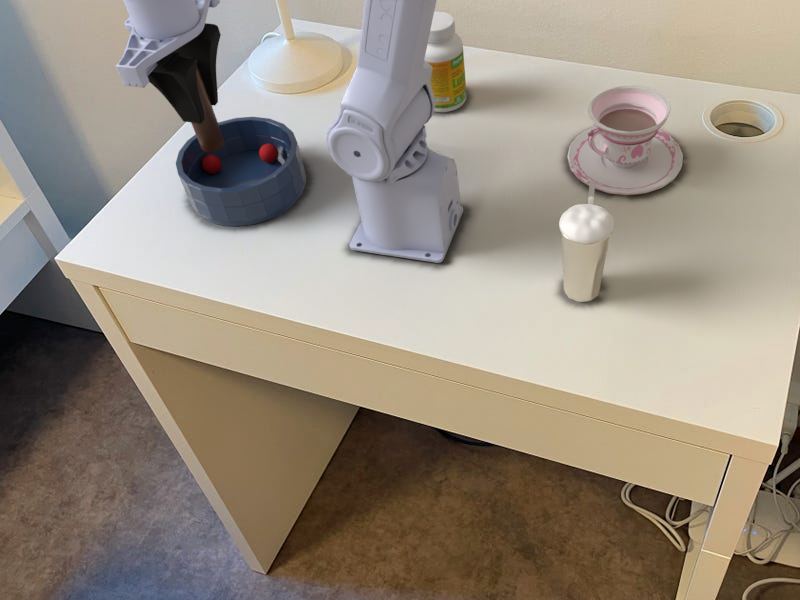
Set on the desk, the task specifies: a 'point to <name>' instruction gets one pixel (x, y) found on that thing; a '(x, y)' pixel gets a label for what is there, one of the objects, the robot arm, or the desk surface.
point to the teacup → (626, 143)
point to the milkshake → (584, 247)
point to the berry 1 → (211, 164)
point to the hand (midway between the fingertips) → (200, 111)
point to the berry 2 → (268, 153)
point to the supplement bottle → (446, 63)
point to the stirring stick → (207, 122)
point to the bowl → (244, 173)
